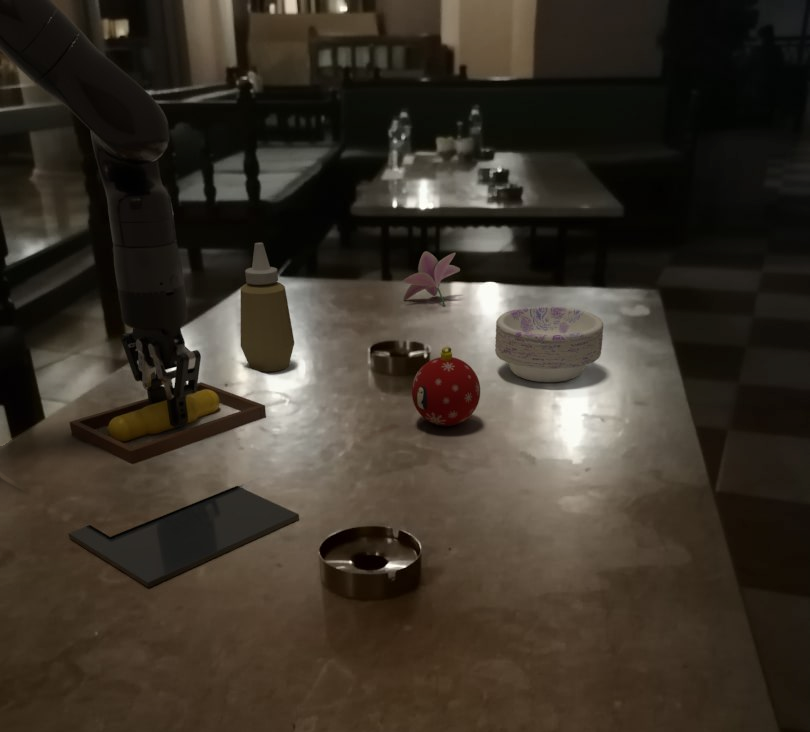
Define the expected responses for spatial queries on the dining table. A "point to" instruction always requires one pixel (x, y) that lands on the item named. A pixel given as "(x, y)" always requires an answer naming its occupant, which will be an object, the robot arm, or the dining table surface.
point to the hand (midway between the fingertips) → (169, 420)
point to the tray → (246, 414)
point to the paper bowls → (548, 342)
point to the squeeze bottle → (265, 317)
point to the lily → (430, 275)
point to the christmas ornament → (446, 390)
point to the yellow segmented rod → (160, 416)
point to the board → (186, 535)
